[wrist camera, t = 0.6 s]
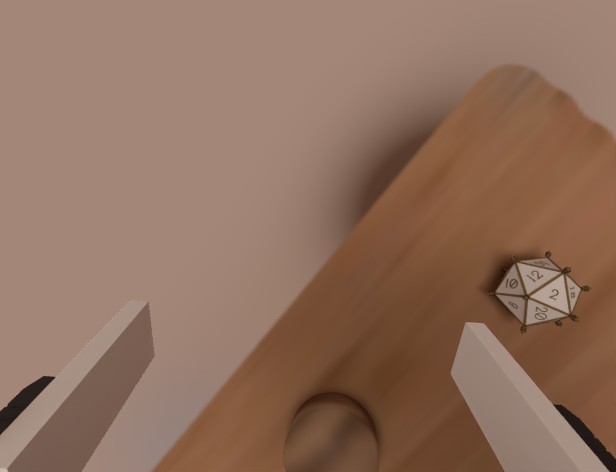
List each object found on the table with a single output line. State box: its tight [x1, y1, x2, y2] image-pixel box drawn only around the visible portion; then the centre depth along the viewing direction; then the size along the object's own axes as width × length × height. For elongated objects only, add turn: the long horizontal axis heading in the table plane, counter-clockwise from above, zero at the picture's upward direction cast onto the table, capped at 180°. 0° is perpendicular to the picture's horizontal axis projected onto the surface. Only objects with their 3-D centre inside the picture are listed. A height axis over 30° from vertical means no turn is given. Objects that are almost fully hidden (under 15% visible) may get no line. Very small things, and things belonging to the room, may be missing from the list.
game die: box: [486, 251, 591, 334], centre depth 36 cm, size 9×8×10 cm
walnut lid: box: [284, 393, 379, 472], centre depth 40 cm, size 11×11×5 cm
